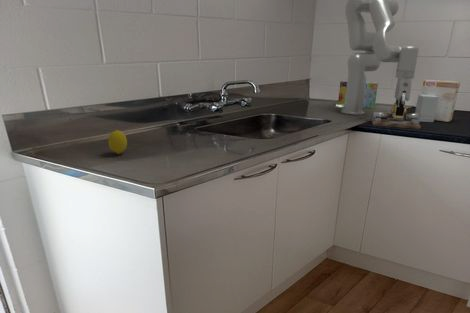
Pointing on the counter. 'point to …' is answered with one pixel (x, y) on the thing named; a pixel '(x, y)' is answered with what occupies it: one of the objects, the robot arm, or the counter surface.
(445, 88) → the coffeecake box
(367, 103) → the snack box
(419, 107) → the supplement box
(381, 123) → the bench board
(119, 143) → the lemon
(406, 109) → the coupler
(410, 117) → the shaft stubs
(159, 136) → the counter surface
